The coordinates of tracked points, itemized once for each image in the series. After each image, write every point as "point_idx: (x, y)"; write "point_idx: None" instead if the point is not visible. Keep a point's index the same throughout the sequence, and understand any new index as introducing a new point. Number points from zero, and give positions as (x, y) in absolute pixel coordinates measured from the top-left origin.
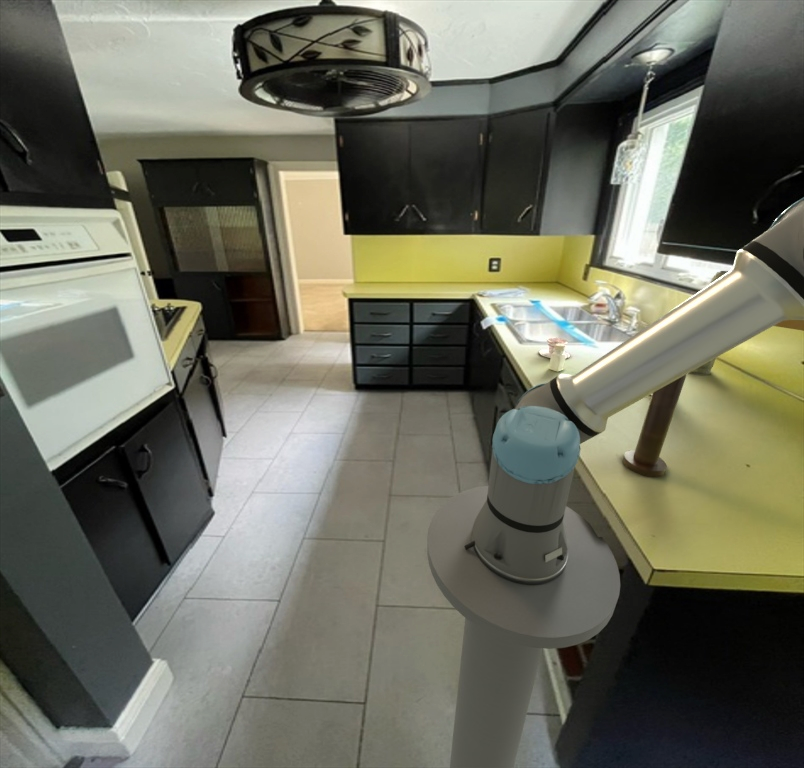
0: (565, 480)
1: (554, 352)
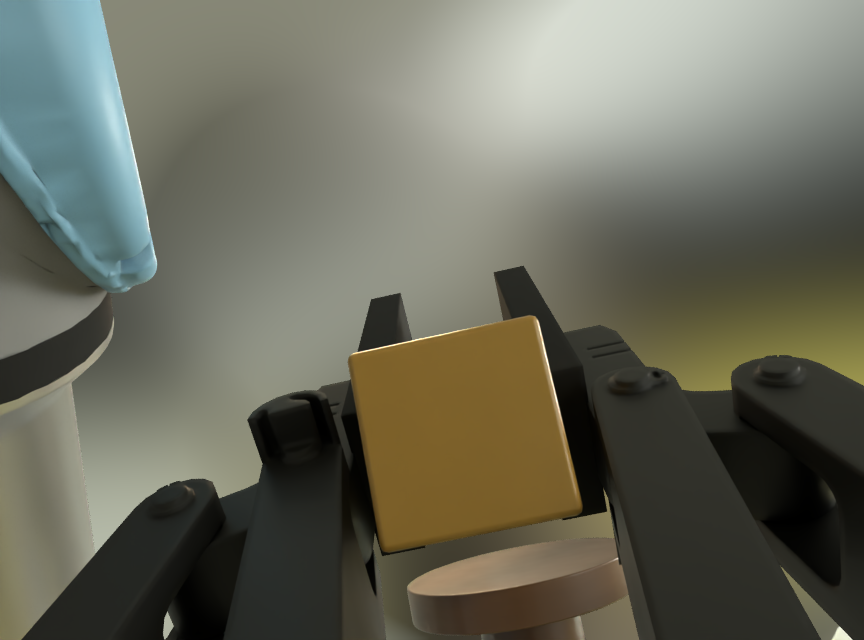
0: None
1: None
